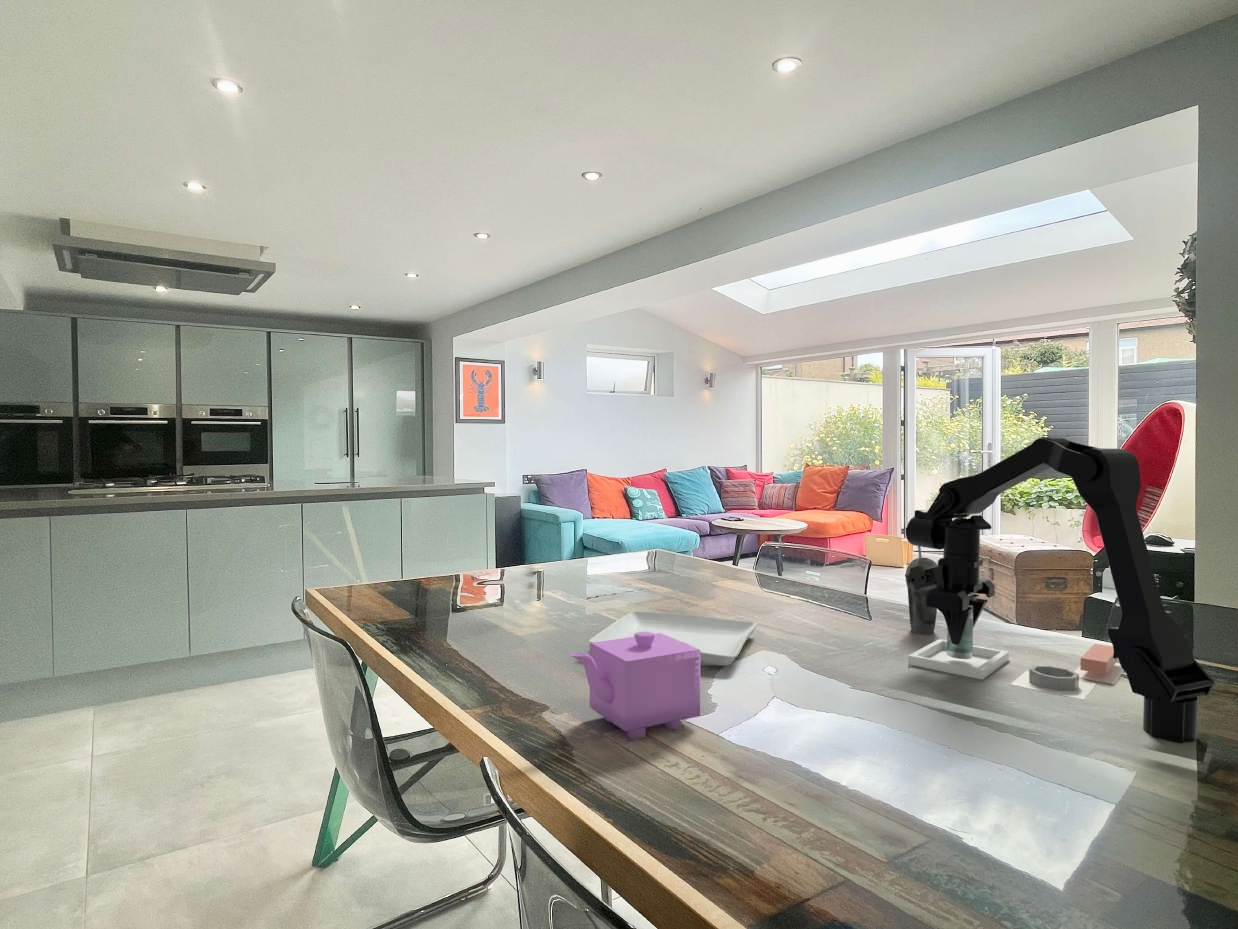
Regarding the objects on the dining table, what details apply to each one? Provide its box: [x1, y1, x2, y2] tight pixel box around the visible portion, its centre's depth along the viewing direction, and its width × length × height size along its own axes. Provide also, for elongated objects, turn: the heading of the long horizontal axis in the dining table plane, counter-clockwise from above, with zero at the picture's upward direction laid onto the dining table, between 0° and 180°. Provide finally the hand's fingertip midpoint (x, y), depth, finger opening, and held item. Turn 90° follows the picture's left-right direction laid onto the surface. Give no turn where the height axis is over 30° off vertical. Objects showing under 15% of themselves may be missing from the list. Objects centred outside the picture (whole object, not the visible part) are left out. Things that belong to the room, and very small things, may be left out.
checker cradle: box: [1009, 662, 1125, 701], centre depth 121 cm, size 26×12×3 cm, turn 137°
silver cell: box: [946, 604, 974, 659], centre depth 127 cm, size 4×4×10 cm
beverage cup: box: [904, 546, 938, 635], centre depth 152 cm, size 7×7×20 cm
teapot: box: [569, 632, 701, 739], centre depth 100 cm, size 20×10×12 cm, turn 120°
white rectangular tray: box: [907, 638, 1010, 680], centre depth 128 cm, size 15×12×2 cm
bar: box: [1080, 643, 1119, 674], centre depth 123 cm, size 12×4×2 cm, turn 137°
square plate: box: [587, 610, 758, 667], centre depth 140 cm, size 27×27×4 cm
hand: (959, 641), depth 127 cm, fingers closed on silver cell, 4 cm apart
